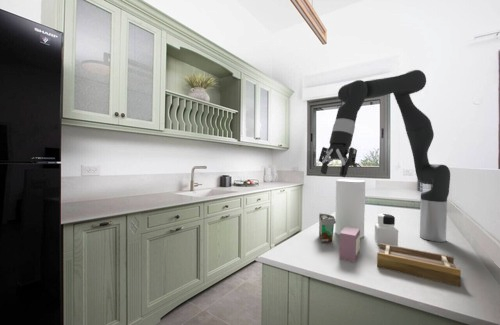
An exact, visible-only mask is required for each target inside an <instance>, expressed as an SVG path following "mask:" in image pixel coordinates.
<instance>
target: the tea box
mask: <svg viewBox="0 0 500 325" xmlns="http://www.w3.org/2000/svg"><path fill="white" fill-rule="evenodd" d="M338 247H339V248H338V252H339V253H338V254H339V257H338V259H339V260H344V261H349V262H352V263H356V260H357V259H358V258H359V255H360V249H361V248H360V247H361V238H360V229H359V228H353V227H347V226H346V227H345V228H344V229H343V230H342V231H341V232H340V235H339V246H338Z"/></svg>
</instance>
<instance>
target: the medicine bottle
mask: <svg viewBox="0 0 500 325" xmlns="http://www.w3.org/2000/svg"><path fill="white" fill-rule="evenodd" d="M395 224H396V219H395V216H394V215H391V214H387V213H380V214H378V215H377V223H375V224H374V241H375V242H376V244H377V245H378V246H380V243H383V244H388V245H393V246H399V230H398V228H396V226H395Z"/></svg>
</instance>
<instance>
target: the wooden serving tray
mask: <svg viewBox="0 0 500 325" xmlns="http://www.w3.org/2000/svg"><path fill="white" fill-rule="evenodd" d="M378 250H379V251H377V254H376V255H377V256H376V267H377V268H380V269H384V270H389V271H394V272H396V273H397V272H398V273H402V274H406V275H410V276H414V277H418V278H423V279H427V280H430V281H435V282H439V283H442V284H443V283H444V284H448V285H452V286H456V287H461V276H462V275H461V272H462V270H461V268H458V267H457V266H456V265H455V257H454V256H452V255H446V254H441V253H435V252H431V251H426V250H420V249H414V248H409V247H403V246H400V245H398V246H393V245H388V244H383V243H380V245H379V249H378Z"/></svg>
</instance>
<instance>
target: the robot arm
mask: <svg viewBox="0 0 500 325" xmlns="http://www.w3.org/2000/svg"><path fill="white" fill-rule="evenodd" d="M426 84H427V77H426V75H425V73H424V71H422V70H421V69H413V70H412V69H411V70H410V71H409V70H408V71H406V72H404V73H402V74H399V75H395V76H390V77H381V78H373V79H369V80H365V81H364V80H362V79H356V80H353V81H351V82H348V83H346V84H344V85H342V86H341V87H340V88H339V89H338V92H337V96H338V99H339V101H341V102H342V103H343V104H342V105H340V106H339V107H338V109H337V113H336V117H335V120H334V124H333V126H332V131H331V134H330V138H329V147H325V146H323V147H322V149H321V151H320V154H319V155H320V156H319V157H318V162H320V163H321V164H322V165H321V168H320V174H323V175H327V172H328V169H329V168H328V167H329V164H330V163H331V162H333V161H334V160H335V161H336V160H338V161H341V164H342V165H341V167H340V171H339V176H340V177H342V178H345V177H346V176H347V175H348V170H349V168H350V167H351V166H353V167H355V165H356V164H355V163H356V158H357V151H358V150H357V149H356V148H354V147H352V142H353V137H354V134H355V130H356V129H355V128H356V126H355V125H356V121H357V117H358V113H359V111H360V109H361V108H362V106H363V103H364V102H365V100H366V99H374V98H379V97H383V96H387V95H390V94H393V97H394V99H395V100H396V104H397V107H398V108H399V110H400V114H401V117H402V120H403V121H402V122H403V124H404V129H405V133H406V136H407V139H408V142H409V145H410V149H411V154H412V156H413V163H414V168H415V170H414V171H415V176H416V179H417V180H418V181H419V183H420V184H424V185H431V189H430V190H428V191H424V192H421V193H420V209H419V210H420V211H419V212H420V213H419V214H420V216H419V217H420V218H419V219H420V220H419V238H421V239H423V240H428V241H431V242H437V243H438V242H439V243H444V242H445V243H446V241H447V220H448V218H447V216H448V206H447V205H448V197H449V194H450V185H451V184H450V183H451V171H450V169H449V167H448V166H447V165H446V164H440V163H439V164H437V163H431V164H430V160H429V156H428V151H429V148H430V147H431V144H432V142H433V139H434V137H435V136H434V135H435V134H434V130H433V125H432V122H431V120H430V118H429V117H428V116H427V115H426V113H424V112H422V111H421V110H420V109H419V108H418V107H417V106H416V105H415V104H414V102H413V99H412V97H411V95H412V94H414V93H415V94H416V93H418V92H420V91H422V90H423V89H424V88H425V87H426ZM347 155H348V156H347Z"/></svg>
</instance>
